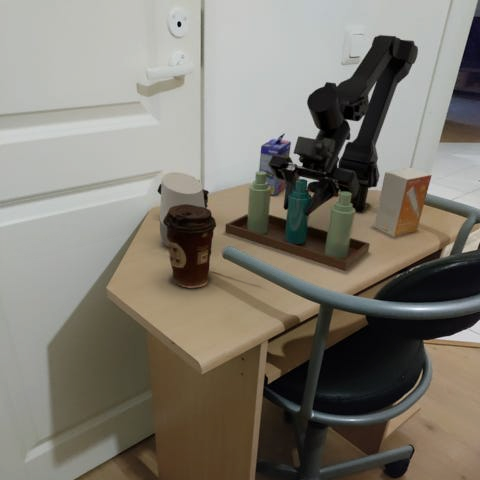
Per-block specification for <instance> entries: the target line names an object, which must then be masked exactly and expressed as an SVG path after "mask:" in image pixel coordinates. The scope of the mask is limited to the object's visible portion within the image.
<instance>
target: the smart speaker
mask: <svg viewBox="0 0 480 480" xmlns="http://www.w3.org/2000/svg"><path fill="white" fill-rule="evenodd" d="M199 180H200V179H198V178H196V177H194V176H193V175H190V174H187V173H183V172H177V171H175V172H174V171H173V172H167V173H166V174H164V175H163V176H162V177H161V183H160V184H161V194H160V208H159V209H160V210H159V232H160V233H159V234H160V238H161V241H162V243H163V245H164V246H165V247H167V248H168V240H167V226H166V225H165V224H164V223H163V220H164V218H165V216H166V215H167V213H168V212H169V211H168V210H169V209H170V208H171V207H173V206H178V205H183V204H187V205H188V204H189V205H194V206H198V207H204V208H205V204H204V195H203V190H204V188H203V184H202V183H201V180H200V181H199Z"/></svg>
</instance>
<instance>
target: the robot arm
mask: <svg viewBox="0 0 480 480" xmlns="http://www.w3.org/2000/svg"><path fill="white" fill-rule="evenodd" d="M418 53H419V47H418V46H417V45H416V44H415V41H414V40H408V39H401V38H400V37H397V36H396V35H383V34H379V35H375V36H374V37H373V40H372V43H371V47H370V48H369V50H368V51H367V53H366V54H365V55H364V57H363V59H361V62H360V63H359V64H358V66H357V68H356V69H355V71H354V72H353V73H352V75H351V77H349V78H347V79H345V80H343V81H341V82H339V84H337V83H336V82H330V81H326V82H325V83H324V85H323V86H321V87H319V88H317V89H315V90H314V91H312V92H311V93H310V94H309V96H308V97H307V100H306V105H307V108H308V111H309V113H310V116H311V118H312V121H313V123H314V126H315V127H316V129H318V130H319V131H318V133H317V134H316V136H315V138H311V137H305V136H299V135H298V136H297V140H296V143H295V146H294V149H293V151H292V152H293V155H298V156H299V158H298V161H299V163H300V164H302V165H301V166H300V165H298V164H297V163H295V162H293V160H292V157H291V156H289V157H287V156H283V155H278V154H275V155H273V156H272V157H271V159H270V161H269V163H268V165H269V167H270V169H271V170H272V172H273V174H274V175H275V177H276V178H278V179H280V180H284V181H286V186H285V191H284V199H283V209H284V210H285V211H287V208H288V198H289V194H290V193H293V189H295V188H296V180H298V179H301V178H304V179H310V180H313V181H319V182H318V186H317V189H316V191H315V192H313V195H312V198H311V200H310V202H309V204H308V206H307V209H306V211H305V215H306V216H308V215H311V214H312V213H313V212H315V211H316V210H317V209H318V208H320V207H321V206H322V205H324V204H325V203H327V202H328V201H330V200H331V199H332V198H339V195H340V192H350V193H351V194H352V195H351V201H350V203H352V205H353V206H352V207H353V208H354V209H355V212H357V213H364V212H365V210H366V209H368V208H369V207H370V205H371V204H370V203H369V202H367V198H368V194H369V189H371V188H377V186H378V182H379V181H380V171H379V167H378V160H379V156H378V151H377V146H376V145H377V142H378V140H379V137H380V133H381V131H382V128H383V125H384V123H385V120H386V117H387V114H388V113H389V112H388V111H389V109H390V107H391V103H392V100H393V97H394V95H395V92H396V89H397V87H398V85H399V83H400V82H401V81H403V80H404V79H405V78H406V77H407V76H408V75H409V73H410V71H411V69H412V66H413V65H414V64H415V63H416V61H417V58H418ZM372 89H373V91H372ZM371 91H372V93H371V95H370V92H371ZM369 95H370V97H369ZM369 98H370V99H369ZM362 118H363V119H362ZM361 120H362V122H361V124H360V127H359V130H358V132H357V136H356V138H354V139H353V140H352V141H350V140H351V126H350V123H349V121H353V122H359V121H361ZM346 141H348V142H347V143H346V144H345V142H346ZM344 144H345V146H344ZM343 146H344V150H343V153H342V155H341V157H340V158H339V155H340V154H341V151H342V149H343ZM334 163H337V166H338V167H337V169H335V172H334V174H333V173H330V172H331V170H332V167H333V165H334Z"/></svg>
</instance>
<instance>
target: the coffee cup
mask: <svg viewBox="0 0 480 480" xmlns="http://www.w3.org/2000/svg"><path fill="white" fill-rule="evenodd" d="M168 211H169V212H168V213H167V215H166V216H165V218H164V220H163V223H164V224H165V225H166V226H167V240H168V247H167V249H168V254H169V262H170V266H171V269H172V279H173V280H172V281H173V282H174V283H175V284H177V285H178V286H181V287H183V288H188V289H195V288H201V287H204V286H206V285H207V284H208V282H209V272H210V265H211V262H210V261H211V255H212V245H213V238H214V230H215V228H216V227H217V223H216V219H215V217H213V216H212V211H211V210H210V209H209V208H204V207H198V206H194V205H189V204H188V205H187V204H183V205H178V206H173V207H171V208H170V209H169V210H168Z"/></svg>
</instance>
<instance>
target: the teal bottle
mask: <svg viewBox="0 0 480 480" xmlns="http://www.w3.org/2000/svg"><path fill="white" fill-rule="evenodd" d="M312 197H313V195H311V194H310V190H309V189H308V180H307V179H305V178H304V179H303V178H299V179H298V180H296V188H295V189H293V193H290V194H289V198H288V208H287V210H286V218H285V219H286V230H285V241H286V242H288V243H291V244H303V243H305V242H306V241H307V233H308V226H309V224H310V215H311V214H310V215H308V216H306V215H305V211H306V209H307V206H308V204H309V202H310V200H311V198H312Z"/></svg>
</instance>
